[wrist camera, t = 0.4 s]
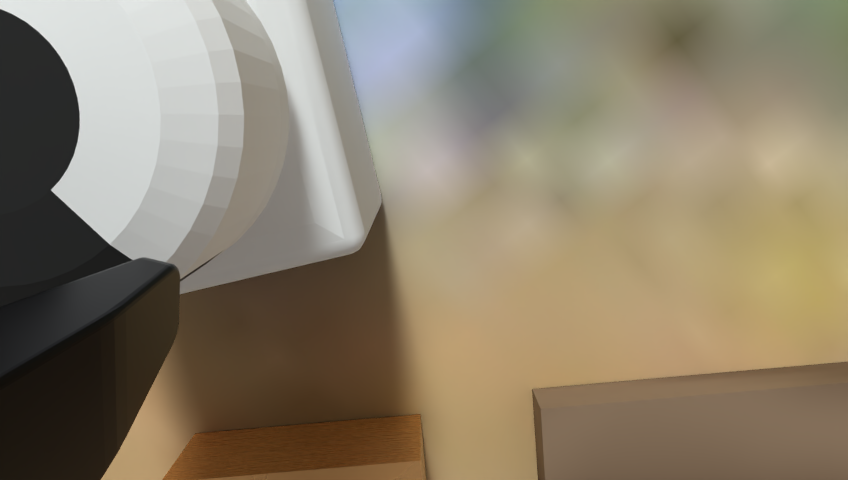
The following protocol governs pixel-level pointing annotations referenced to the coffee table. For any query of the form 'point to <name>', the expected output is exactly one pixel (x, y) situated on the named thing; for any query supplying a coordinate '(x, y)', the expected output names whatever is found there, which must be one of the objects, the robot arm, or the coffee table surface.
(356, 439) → the brown hollow square block
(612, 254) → the coffee table surface
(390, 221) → the coffee table surface
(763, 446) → the keeper plate
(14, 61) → the medicine bottle
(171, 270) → the robot arm
